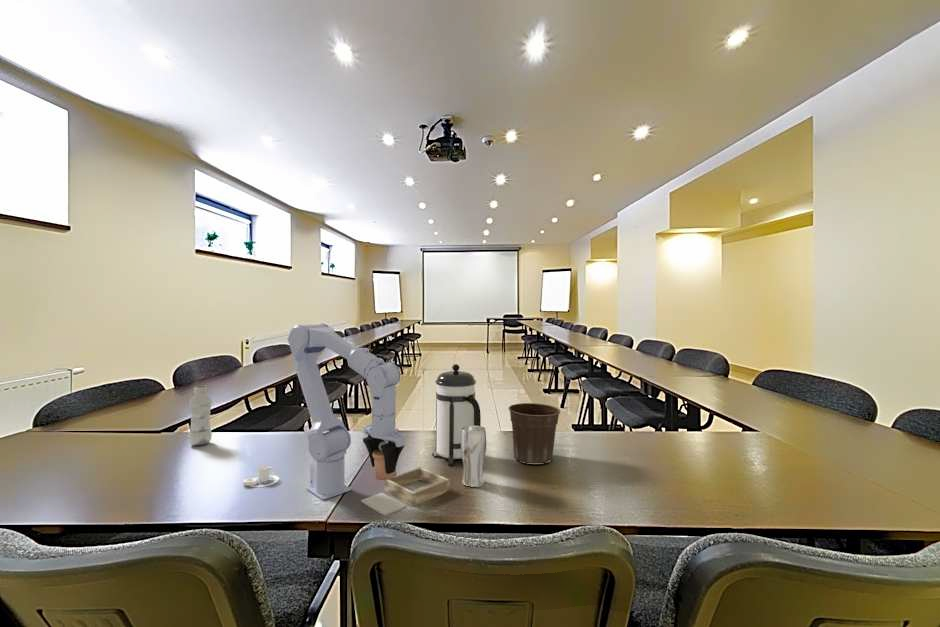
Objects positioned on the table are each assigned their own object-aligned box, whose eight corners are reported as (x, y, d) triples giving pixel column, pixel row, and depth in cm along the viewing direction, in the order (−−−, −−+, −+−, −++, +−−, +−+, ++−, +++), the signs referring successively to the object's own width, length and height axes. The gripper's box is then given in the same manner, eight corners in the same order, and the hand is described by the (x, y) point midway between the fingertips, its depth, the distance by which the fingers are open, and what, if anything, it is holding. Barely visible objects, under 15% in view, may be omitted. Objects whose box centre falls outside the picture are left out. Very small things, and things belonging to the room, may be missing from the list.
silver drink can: (471, 475, 119) (471, 423, 119) (490, 482, 115) (491, 428, 115) (455, 483, 114) (455, 429, 114) (475, 491, 110) (475, 434, 109)
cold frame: (384, 490, 109) (384, 479, 109) (420, 477, 118) (420, 467, 118) (413, 506, 101) (413, 494, 101) (449, 490, 109) (449, 479, 109)
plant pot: (556, 451, 141) (557, 403, 140) (562, 469, 124) (563, 416, 124) (508, 449, 142) (508, 402, 142) (507, 467, 126) (508, 414, 126)
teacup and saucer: (240, 490, 110) (240, 475, 109) (248, 478, 117) (248, 464, 117) (276, 487, 112) (276, 472, 112) (281, 475, 120) (281, 461, 119)
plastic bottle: (190, 442, 146) (190, 385, 145) (213, 440, 148) (213, 384, 148) (186, 448, 140) (186, 389, 139) (210, 446, 143) (210, 387, 142)
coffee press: (424, 465, 127) (424, 366, 127) (440, 447, 143) (440, 360, 142) (479, 471, 123) (480, 369, 123) (489, 452, 139) (490, 362, 138)
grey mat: (361, 501, 103) (361, 500, 103) (381, 493, 107) (381, 492, 107) (384, 516, 96) (384, 514, 96) (405, 507, 100) (405, 505, 100)
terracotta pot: (369, 476, 102) (367, 442, 101) (388, 468, 106) (386, 435, 106) (382, 483, 98) (380, 447, 98) (402, 474, 102) (399, 440, 102)
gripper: (415, 416, 99) (415, 472, 99) (380, 405, 109) (380, 457, 110) (390, 421, 94) (390, 481, 94) (356, 410, 104) (356, 464, 104)
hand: (383, 469), depth 102 cm, fingers closed on terracotta pot, 5 cm apart
